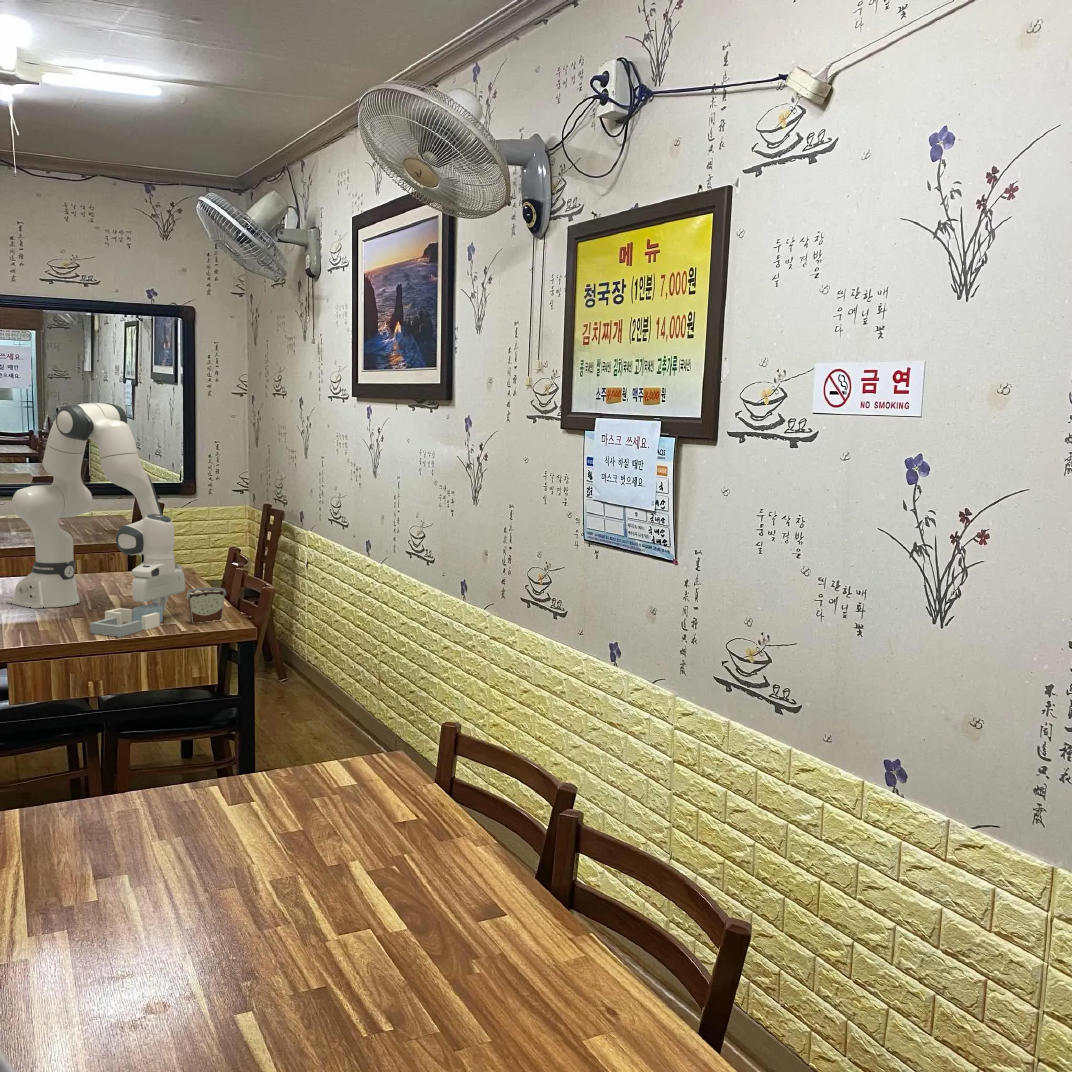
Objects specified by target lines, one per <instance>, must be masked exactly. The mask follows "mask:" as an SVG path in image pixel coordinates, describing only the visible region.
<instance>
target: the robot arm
mask: <svg viewBox="0 0 1072 1072" xmlns="http://www.w3.org/2000/svg"><path fill="white" fill-rule="evenodd" d="M88 440H92V441H93V442H95V444H96V447H97V451H98V455H99V456H98V457H99V461H100V466H101V470H102V473H103V474H104V477H105V478H106V479H107V480H108V482H110V483H112V485H113V484H114V485H116V486H118V487H121V488H123V489H126V490H127V491H129V492H130V493H131V494H132V495H133V496H134V497H135V499H136V501H137V504H138V508H139V511H140V513H141V517H142V518H141V519H140V520H138V521H135V522H133V523H129V524H125V525H122V526H120V528H119V529H118V530H117V532H116V535H115V544H116V547H117V548H118V550H119V551H120V552H121V553H122V554H124V555H125V556H126V555H128V556H135V555H143V562H141V563H140V564H139V565H137V566H136V567H135V568H132V569H131V574H132V577H133V579H132V583H131V584H132V585H131V595H132V597H131V598H132V599H133V600H134V602H136V603H137V602H138V603H146V602H150V601H151V604H152V605H160V606H163V612H164V611H166V605H167V603H168V600H169V597H170V596H174V595H176V594H181V593H184V592H185V590H186V582H185V581H186V580H185V579H186V578H185V574H184V571H183V566H182V565H181V564H180V563H175V560H176V558H175V557H176V556H175V554H174V548H175V547H174V546H175V530H174V529H175V528H174V523H173V521H172V519H171V518H170V517H169V516H167V515H164V514H163V511H162V507H161V506H160V502H159V500H158V499H159V498H158V495H157V493H156V490H155V487H154V484H153V482H152V479H151V477H150V476H149V475H148V473H147V472H146V471H145V469H144V467H143V465H142V463H141V460H140V457H139V453H138V447H137V443H136V441H135V437H134V435H133V432H132V430H131V427H130V426H129V425H128V416H127V413H126V410H124V408H122V407H121V406H119V405H117V404H114V403H107V402H106V403H102V402H89V403H88V402H87V403H79V404H75V403H70V404H68V405H64V406H62V407H60V408H59V409H58V411H57V413H56V416H55V418H54V421H53V424H52V426H51V428H50V430H49V434H48V437H47V440H46V445H45V449H44V454H43V460H42V467H43V468H44V470H45V472H46V473H47V474H49V475H51V477H52V478H53V482H52V483H51V484H42V485H40V484H39V485H31V486H27V487H23V488H20V489H17V490H16V491H15V493H13V497H12V501H11V506H12V510H13V512H14V513H15V515H16V516H17V517H18V518H20V519H21V520H23V522H25V523H26V525H27V526H28V528H29V529H30V531H31V534H32V537H33V540H34V551H35V561H34V562H30V563H28V565H29V566H28V567H29V568H30V567H31V572H30V573H28V575H26V576H24V578H23V579H22V580H20V581H18V582H17V584H16V585H15V589H14V596H13V597H9V598H7V600H6V603H7V604H11V603H12V604H11V605H17V606H21V607H25V608H29V607H31V608H30V609H43V607H44V608H59V607H68V606H74V605H78V604H80V602H81V601H80V595H79V594H78V588H77V581H76V580H77V579H76V575H75V572H76V560H75V559H74V539H73V536H72V535H71V534H70V533H69V531H66V530H63V529H62V528H61V527H60V524H59V520H58V519H63V518H64V519H65V518H75V517H78V516H80V515H81V516H82V515H84V514H86V513H88V512H89V511H90V510H91V509H92V505H93V496H92V492H91V490H89V489H88V487H86V485H85V484H84V483H83V480H82V475H81V474H82V473H81V472H82V466H83V465H82V464H83V460H84V455H85V451H86V446H87V442H88ZM77 603H78V604H77Z"/></svg>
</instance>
